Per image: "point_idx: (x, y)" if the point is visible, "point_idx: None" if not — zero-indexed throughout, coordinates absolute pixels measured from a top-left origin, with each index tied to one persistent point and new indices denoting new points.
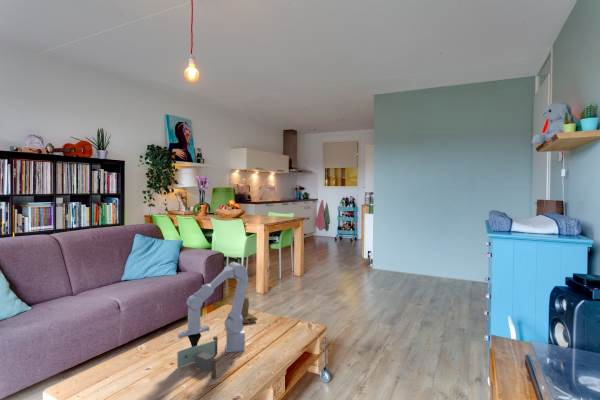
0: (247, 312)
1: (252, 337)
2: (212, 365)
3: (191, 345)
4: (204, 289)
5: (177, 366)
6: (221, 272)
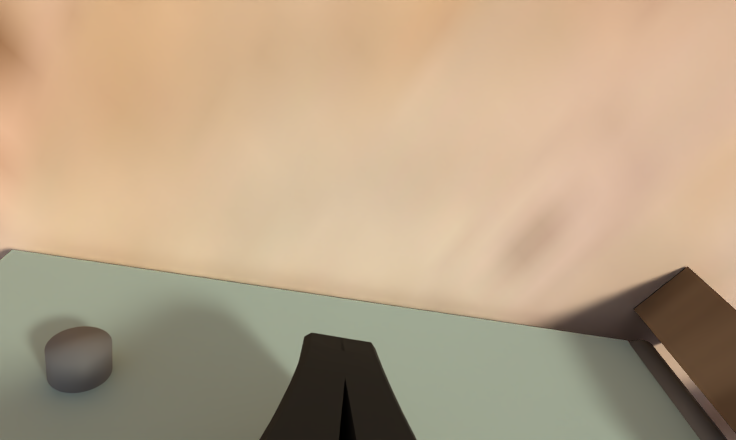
0: None
1: None
2: None
3: (289, 386)
4: None
5: (11, 253)
6: None
